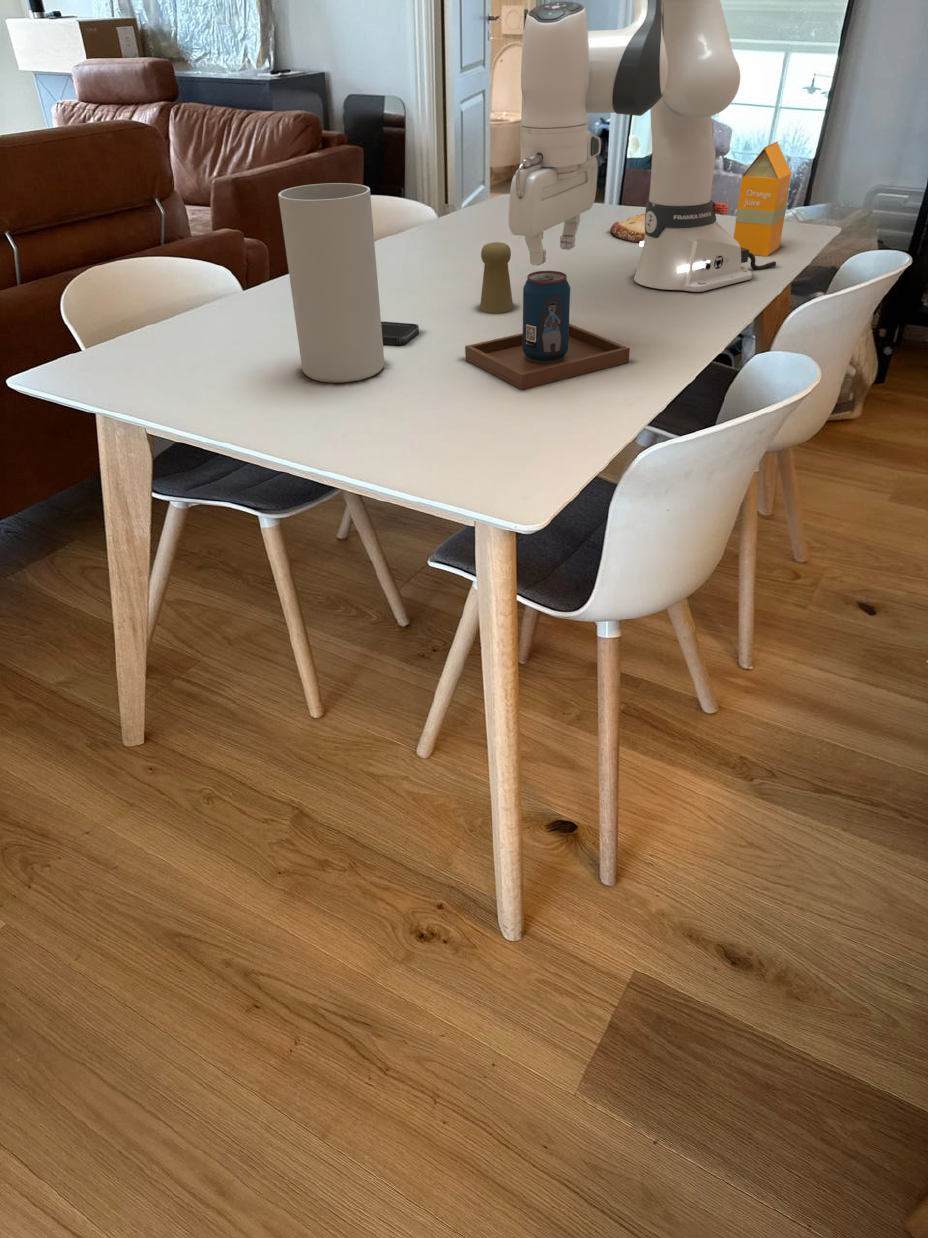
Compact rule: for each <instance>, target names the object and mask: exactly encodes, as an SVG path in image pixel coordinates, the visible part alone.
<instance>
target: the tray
mask: <svg viewBox="0 0 928 1238" xmlns="http://www.w3.org/2000/svg"><path fill="white" fill-rule="evenodd" d="M464 351H465V352H464V353H465V354H464V356H465V359H464V360H465V361H467V362H468V363H470V364H473V365H475V366H476V367H478V368H479V369H482V370H483V371H486V372H488V373H489V374H491V375H493V376H495V377H497V378H499V379H501V380H502V381H504V382H506V383H508V384H510V385H512V386H514V387H516V388H518V389H520V390H527V389H530V388H534V387H538V386H541V385H546V384H550V383H553V382H558V381H561V380H566V379H569V378H573V377H576V376H581V375H585V374H589V373H592V372H596V371H600V370H604V369H608V368H612V367H615V366H620V365H624V364H628V363H629V362H630V351H631V350H630V347H628V346H625V345H623V344H621V343H619V342H617V341H613V340H611V339H609V338H606V337H603V336H601V335H598V334H596V333H594V332H591V331H589V330H587V329H584V328H581V327H579V326H576V325H575V324H572V323H569V341H568V351H567V352H566V354H565V356H564V357H563V359H562V360H560V361H557V362H553V363H537V362H533V361H530V360H529V359H528V358H527V357H526V355H525V353H524V351H523V332H522V333H521V332H520V333H516V334H512V335H509V336H504V337H500V338H499V337H498V338H494V339H491V340H486V341H482V342H478V343H473V344H468V345H465V346H464Z"/></svg>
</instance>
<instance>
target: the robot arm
mask: <svg viewBox="0 0 928 1238" xmlns="http://www.w3.org/2000/svg"><path fill="white" fill-rule="evenodd" d="M721 3H722V2H721V0H632V4H633V5H632V23H631V24H629V25H628V26H626V27H623V28H619V29H602V30H601V29H600V30H599V29H598V30H589V27H588V18H587V17H588V15H587V11H586V7H584V5H583V4H581V3H578V2H574V1H567V0H566V1H564V0H563V1H562V0H561V1H551V2H548V3H542V4H539V5H536V6H534V7H533V8H532V9H530V10H529V11H528V13H526V17H525V22H524V27H523V37H522V46H521V64H520V89H521V93H522V98H523V106H524V107H523V113H522V116H521V117H522V118H521V123H520V124H521V126H520V128H521V129H520V130H521V133H520V134H521V136H520V137H521V138H520V139H521V145H520V146H521V160H520V162H519V166H518V168H517V170H516V171H515V173H514V175H513V177H512V178H511V179H512V180H511V183H510V189H509V190H510V192H509V203H508V228H509V230H510V233H511V235H513V236H518V237H519V236H520V237H521V236H522V237H524V241H525V244H526V246H527V249H528V251H529V263H530V265H532V266H541V265H544V263H545V262H547V258H546V256H547V249H544V247H543V246H544V245H543V242H542V240H543V239H544V231H547V230H549V229H551V228H553V227H555V226H557V225H560V224H562V223H563V230H562V235H560V236H559V242H560V243H559V247H560V249H562V250H567V251H569V250H572V249H574V248H575V247H576V235H577V232H578V229H579V226H580V223H581V214H583V213H585V212H587V211H589V210H591V209H592V208H593V206H594V203H595V200H596V195H597V186H598V185H597V184H598V183H597V182H598V159H597V157H596V156H598V155H600V153H601V150H602V149H601V148H602V141H601V137H599V136H598V135H596V134H593V133H592V132H591V131H590V130H589V118H588V117H589V116H588V114H590V113H591V114H611V113H612V114H614V113H615V114H617V115H627V116H636V117H641V116H643V115H644V114H646V113H647V112H648V111H649V110H650V126H651V127H650V129H651V130H650V131H651V132H650V133H651V146H652V147H651V149H652V150H651V151H652V153H651V170H650V180H649V181H650V183H649V193H648V199H647V201H646V203H645V212H644V214H645V238H644V241H640V242H639V247H642V249H641V252H640V253H641V254H640V258H639V262H638V265H637V269H636V272H635V275H634V276H633V281H634V282H635V283H636V284H638V285H641V286H643V287H647V288H652V289H657V290H665V291H666V290H667V291H669V290H670V291H685V292H690V293H691V292H693V293H702V292H705V291H710V290H714V289H717V288H721V287H726V286H729V285H733V284H737V283H742V282H745V281H749V280H752V278H753V273H752V271H751V270H749V269H748V268H746V267H744V266H742V264H743V263H744V264H745V263H748V261H749V260H750V268H751V269H753V270H754V271H761V270H767V269H769V268H772V267H776V266H777V262H776V261H774V260H773V261H770V262H767V263H765V264H762V265H757V264H756V257H755V256H756V255H753V254H752V253H750V252H749V250H748V249H745V248H742V247H740V245H739V243H738V242H737V241H736V240H735V239H734V236H732V235H731V234H730V232H728V231H727V230H725V228H724V227H722V226H721V225H720V224H719V223H718V221H717V216H716V214H717V215H720V216H726V215H727V213H728V212H729V210H730V208H729V207H730V206H729V204H728V203H725V202H722V201H718V202H717V203H716V202H714V200H712V192H713V191H712V190H713V180H714V175H715V174H714V173H715V165H716V164H715V163H716V155H717V154H716V147H715V143H714V137H713V122H712V117H713V116H716V115H717V114H720V113H721V112H723V111H724V110H726V109H727V108H728V107H729V106H730V105H731V104H732V102H733V101H734V99H735V98H736V95H737V93H738V91H739V88H740V84H741V70H740V67H739V63H738V61H737V58H736V57H735V54H734V52H733V48H732V44H731V40H730V39H731V38H730V35H729V29H728V26H727V21H726V18H725V14H724V10H723V7H722V4H721Z"/></svg>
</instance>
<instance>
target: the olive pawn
mask: <svg viewBox="0 0 928 1238" xmlns="http://www.w3.org/2000/svg"><path fill="white" fill-rule="evenodd" d="M511 256H512V251H511V247H510V246H509V245H508V244H507V243H504V242H500V241H498V242H497V241H496V242H495V241H494V242H489V243H486V244H484V245H483V246H482V248H481V251H480V257H481V261H482V263H483V264H484V266H483V275H482V284H481V285H482V286H481V294H480V305H479V311H481V312H484V313H487V314H503V313H509V312H511V311H512V310H514V303H513V294H512V287H511V279H510V278H511V277H510V271H509V262H510V261H511V258H512V257H511Z"/></svg>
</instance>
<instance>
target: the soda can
mask: <svg viewBox="0 0 928 1238" xmlns="http://www.w3.org/2000/svg"><path fill="white" fill-rule="evenodd" d="M567 278H568V276H567V274H566V273H564V272H561V271H557V270H537V271H533V272H531V273H529V274H527V276H526V281H525V283H524V286H523V288H522V333H523V351H524V353H525V355H526V357H527V358H528V359H529V360H530V361H533V362H537V363H553V362H557V361H560V360H562V359H563V357H564V356H565V354H566V352H567V351H568V341H569V324H570V311H571V310H570V309H571V308H570V307H571V286H570V283H569V280H568V279H567Z"/></svg>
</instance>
